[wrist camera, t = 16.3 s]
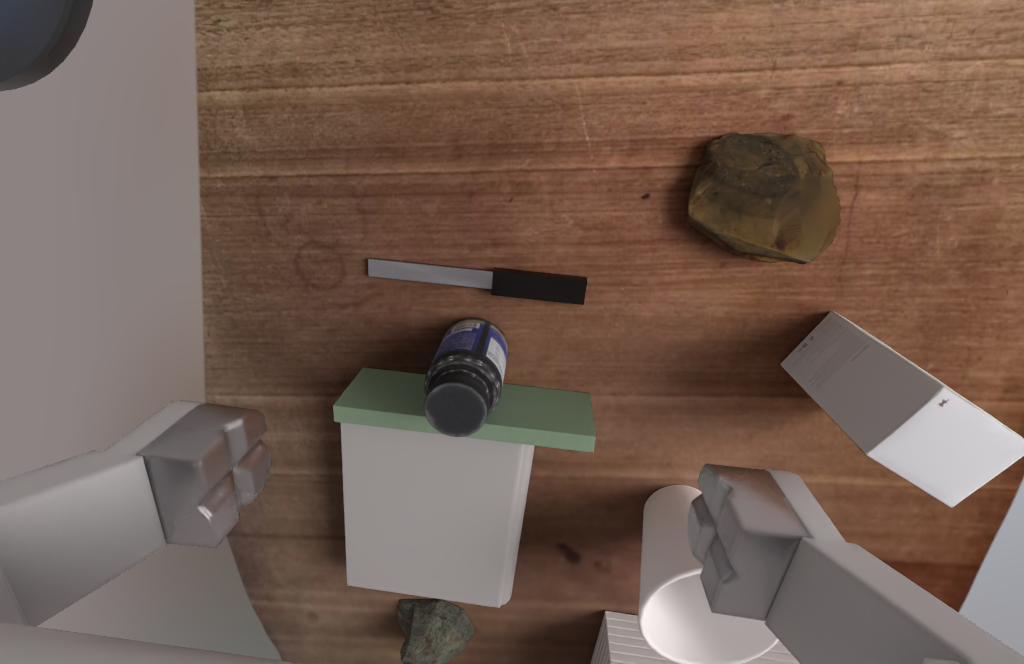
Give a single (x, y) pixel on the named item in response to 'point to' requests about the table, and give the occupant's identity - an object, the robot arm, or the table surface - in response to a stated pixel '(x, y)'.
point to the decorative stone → (766, 197)
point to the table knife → (487, 280)
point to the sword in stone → (432, 631)
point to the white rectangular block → (433, 513)
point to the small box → (901, 412)
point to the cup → (686, 593)
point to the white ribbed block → (630, 660)
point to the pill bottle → (465, 377)
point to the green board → (513, 420)
